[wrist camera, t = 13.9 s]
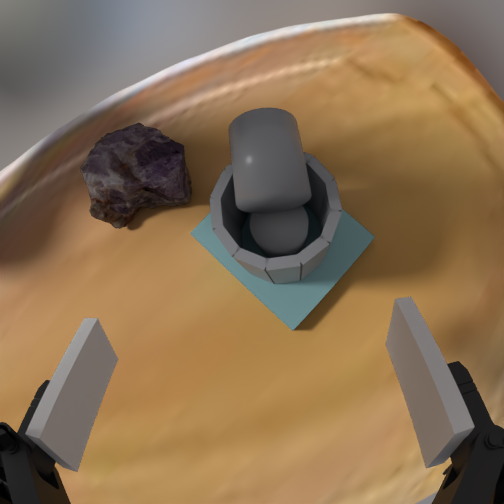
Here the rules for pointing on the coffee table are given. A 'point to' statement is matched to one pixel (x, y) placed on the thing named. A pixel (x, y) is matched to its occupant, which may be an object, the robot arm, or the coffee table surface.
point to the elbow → (272, 192)
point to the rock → (135, 174)
